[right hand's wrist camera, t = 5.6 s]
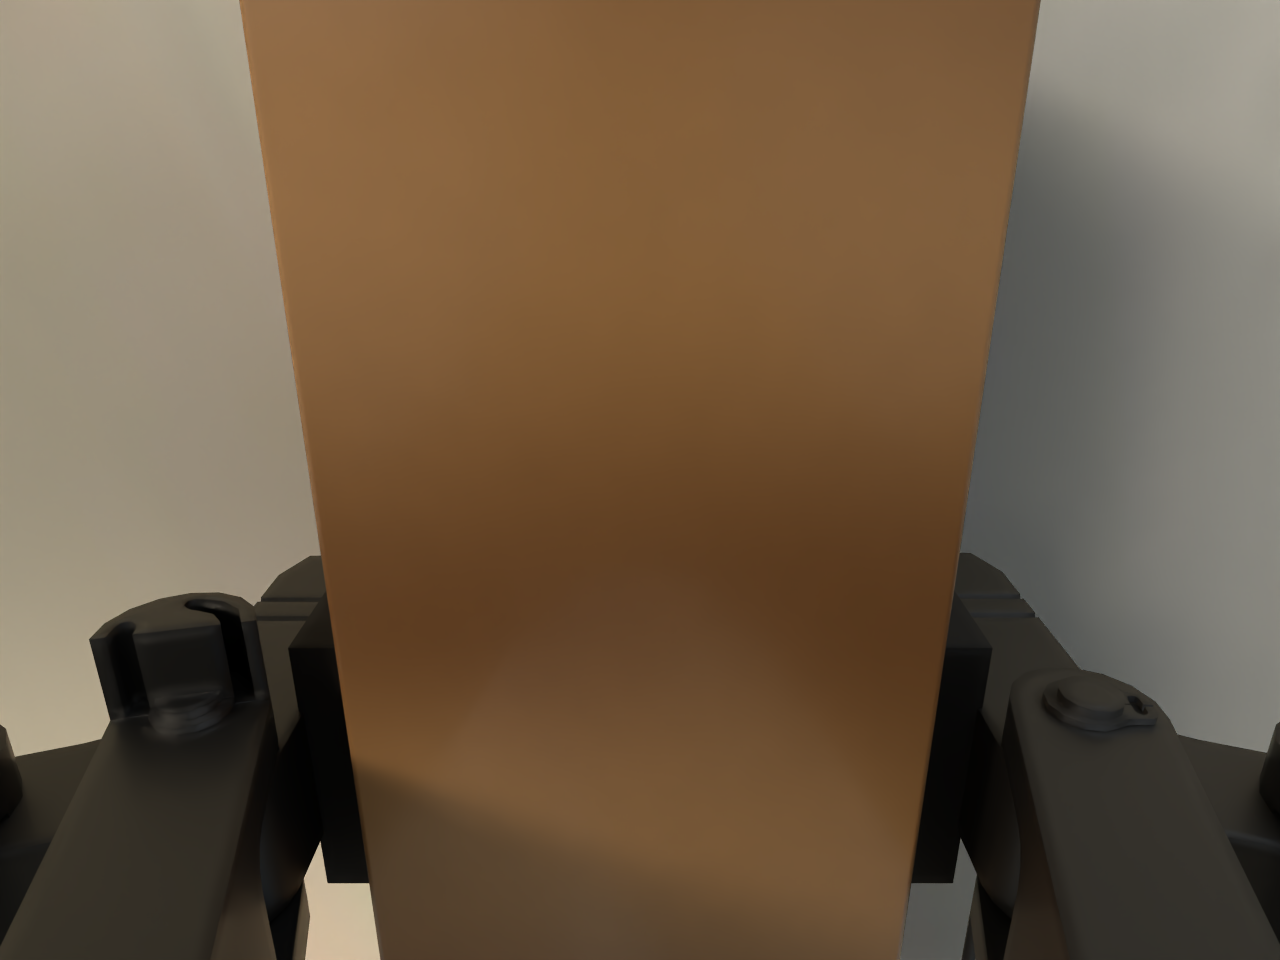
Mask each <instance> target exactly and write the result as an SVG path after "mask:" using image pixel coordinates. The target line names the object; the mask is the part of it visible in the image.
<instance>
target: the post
mask: <svg viewBox="0 0 1280 960" xmlns="http://www.w3.org/2000/svg"><path fill="white" fill-rule="evenodd" d="M239 1H240V8H241V14H242V21H243V28H244V35H245V42H246V48H247V55H248V62H249V69H250V76H251V82H252V89H253V96H254V103H255V110H256V116H257V123H258V130H259V137H260V144H261V150H262V157H263V164H264V171H265V178H266V184H267V191H268V198H269V205H270V212H271V218H272V225H273V232H274V239H275V246H276V252H277V259H278V266H279V273H280V280H281V286H282V293H283V300H284V307H285V313H286V320H287V327H288V334H289V341H290V347H291V354H292V361H293V368H294V375H295V381H296V388H297V395H298V402H299V409H300V415H301V422H302V429H303V436H304V443H305V449H306V456H307V463H308V470H309V477H310V483H311V490H312V497H313V504H314V511H315V517H316V524H317V531H318V538H319V545H320V551H321V558H322V565H323V572H324V579H325V585H326V592H327V599H328V606H329V613H330V619H331V626H332V633H333V640H334V647H335V653H336V660H337V667H338V674H339V681H340V687H341V694H342V701H343V708H344V715H345V721H346V728H347V735H348V742H349V749H350V755H351V762H352V769H353V776H354V783H355V789H356V796H357V803H358V810H359V816H360V823H361V830H362V837H363V844H364V850H365V857H366V864H367V871H368V878H369V884H370V891H371V898H372V905H373V912H374V918H375V925H376V932H377V939H378V946H379V952H380V959H381V960H900V956H901V949H902V942H903V935H904V929H905V922H906V915H907V908H908V901H909V894H910V888H911V881H912V874H913V867H914V860H915V854H916V847H917V840H918V833H919V826H920V820H921V813H922V806H923V799H924V792H925V785H926V779H927V772H928V765H929V758H930V751H931V745H932V738H933V731H934V724H935V717H936V710H937V704H938V697H939V690H940V683H941V676H942V670H943V663H944V656H945V649H946V642H947V635H948V629H949V622H950V615H951V608H952V601H953V595H954V588H955V581H956V574H957V567H958V560H959V554H960V547H961V540H962V533H963V526H964V520H965V513H966V506H967V499H968V492H969V485H970V479H971V472H972V465H973V458H974V451H975V445H976V438H977V431H978V424H979V417H980V410H981V404H982V397H983V390H984V383H985V376H986V370H987V363H988V356H989V349H990V342H991V335H992V329H993V322H994V315H995V308H996V301H997V295H998V288H999V281H1000V274H1001V267H1002V260H1003V254H1004V247H1005V240H1006V233H1007V226H1008V220H1009V213H1010V206H1011V199H1012V192H1013V185H1014V179H1015V172H1016V165H1017V158H1018V151H1019V145H1020V138H1021V131H1022V124H1023V117H1024V110H1025V104H1026V97H1027V90H1028V83H1029V76H1030V70H1031V63H1032V56H1033V49H1034V42H1035V35H1036V29H1037V22H1038V15H1039V8H1040V1H1041V0H239Z"/></svg>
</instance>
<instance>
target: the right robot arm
mask: <svg viewBox="0 0 1280 960" xmlns="http://www.w3.org/2000/svg"><path fill="white" fill-rule="evenodd" d="M89 641H90V645H91V648H92V652H93V656H94V660H95V664H96V667H97V671H98V675H99V679H100V683H101V686H102V690H103V694H104V698H105V702H106V705H107V709H108V713H109V717H110V720H111V721H110V723H109V725H108V727H107V729H106V731H105V733H104V735H103V737H102V739H100V740H96V741H92V742H88V743H84V744H79V745H74V746H69V747H63V748H58V749H53V750H48V751H43V752H38V753H32V754H27V755H22V756H17V757H15V756H14V753H13V750H12V747H11V744H10V740H9V737H8V734H7V731H6V729H5V728H4V727H3V726H1V725H0V960H305V954H306V946H307V937H308V929H309V920H310V913H309V907H308V900H307V894H306V889H305V883H304V876H305V874H306V872H307V870H308V867H309V865H310V863H311V861H312V858H313V856H314V854H315V852H316V849H317V847H318V845H319V843H320V841H321V847H322V852H323V858H324V864H325V870H326V876H327V882H328V883H369V878H368V871H367V864H366V857H365V850H364V844H363V837H362V830H361V823H360V816H359V810H358V803H357V796H356V789H355V783H354V776H353V769H352V762H351V755H350V749H349V742H348V735H347V728H346V721H345V715H344V708H343V701H342V694H341V687H340V681H339V674H338V667H337V660H336V653H335V647H334V640H333V633H332V626H331V619H330V613H329V606H328V599H327V592H326V585H325V579H324V572H323V565H322V558H321V556H309V557H308V558H306V559H305V560H303V561H301V562H300V563H298V564H296V565H295V566H293V567H291V568H290V569H288V570H286V571H285V572H283V573H281V574H280V575H279V576H278V577H277V578H276V579H275V581H274V582H273V583H272V584H271V586H270V587H269V588H268V589H267V591H266V592H265V593H264V594H263V596H262V597H261V602H257V603H256V605H255V606H252V605H251V604H250V603H248V602H247V601H246V600H244V599H243V598H241V597H237V596H233V595H228V594H223V593H189V594H183V595H178V596H173V597H167V598H162V599H158V600H155V601H152V602H149V603H146V604H144V605H141V606H138V607H135V608H132V609H129V610H128V611H126V612H124V613H122V614H121V615H119V616H117V617H115V618H113V619H112V620H110V621H108V622H106V623H105V624H104V625H103V626H102V627H101V628H100V629H99V630H98V631H97V632H96V633H95V634H94V635H93V636H92V637H91V638H90V639H89ZM960 838H961V839H962V841H963V844H964V846H965V848H966V850H967V852H968V855H969V857H970V859H971V861H972V864H973V866H974V868H975V870H976V873H977V878H976V883H975V889H974V894H973V900H972V905H971V911H970V916H969V922H968V927H967V933H966V938H965V944H964V949H963V955H962V960H1280V722H1279V723H1278V724H1277V725H1276V727H1275V730H1274V733H1273V736H1272V740H1271V743H1270V746H1269V749H1268V752H1267V753H1264V752H1259V751H1254V750H1248V749H1243V748H1238V747H1233V746H1228V745H1222V744H1217V743H1212V742H1207V741H1202V740H1197V739H1193V738H1189V737H1185V736H1181V735H1177V733H1176V731H1175V729H1174V727H1173V725H1172V723H1171V721H1170V719H1169V718H1168V717H1167V715H1166V714H1165V713H1164V712H1163V711H1162V709H1161V708H1160V707H1159V706H1158V704H1157V703H1156V702H1155V701H1153V700H1152V699H1150V698H1149V697H1147V696H1146V695H1144V694H1143V693H1141V692H1140V691H1138V690H1137V689H1135V688H1134V687H1132V686H1130V685H1128V684H1125V683H1123V682H1121V681H1118V680H1116V679H1113V678H1111V677H1108V676H1106V675H1103V674H1099V673H1094V672H1090V671H1085V670H1081V669H1079V667H1078V666H1077V665H1076V664H1075V662H1074V661H1073V660H1072V659H1071V657H1070V656H1069V655H1068V654H1067V652H1066V651H1065V650H1064V649H1063V647H1062V646H1061V645H1060V644H1059V642H1058V641H1057V640H1056V639H1055V637H1054V636H1053V635H1052V634H1051V632H1050V631H1049V630H1048V629H1047V627H1046V626H1045V625H1044V624H1043V622H1042V621H1041V620H1040V619H1039V618H1035V612H1034V611H1033V610H1032V609H1031V607H1030V606H1029V605H1028V604H1027V602H1026V601H1025V600H1024V599H1020V594H1019V592H1018V591H1017V590H1016V589H1015V587H1014V586H1013V585H1012V584H1011V582H1010V581H1009V580H1008V579H1007V577H1006V576H1005V575H1004V574H1003V572H1001V571H1000V570H998V569H996V568H995V567H993V566H991V565H990V564H988V563H986V562H985V561H983V560H981V559H980V558H978V557H976V556H975V555H973V554H971V553H960V554H959V560H958V567H957V574H956V581H955V588H954V595H953V601H952V608H951V615H950V622H949V629H948V635H947V642H946V649H945V656H944V663H943V670H942V676H941V683H940V690H939V697H938V704H937V710H936V717H935V724H934V731H933V738H932V745H931V751H930V758H929V765H928V772H927V779H926V785H925V792H924V799H923V806H922V813H921V820H920V826H919V833H918V840H917V847H916V854H915V860H914V867H913V874H912V881H911V883H953V879H954V873H955V868H956V862H957V856H958V850H959V844H960Z"/></svg>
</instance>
